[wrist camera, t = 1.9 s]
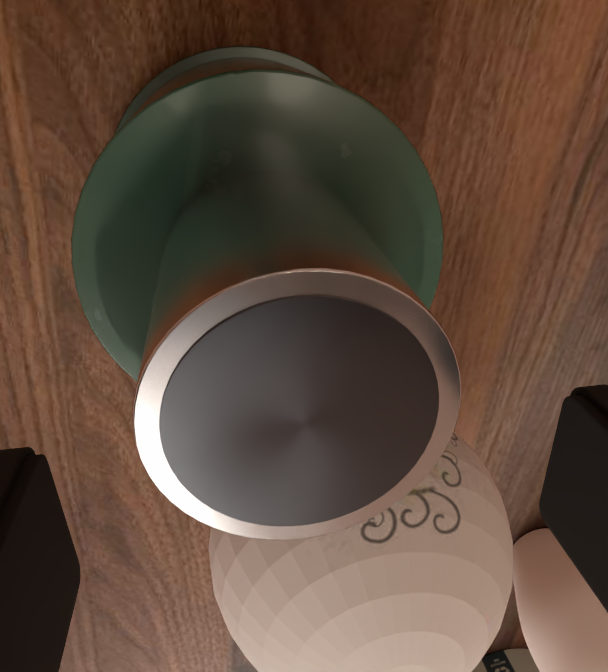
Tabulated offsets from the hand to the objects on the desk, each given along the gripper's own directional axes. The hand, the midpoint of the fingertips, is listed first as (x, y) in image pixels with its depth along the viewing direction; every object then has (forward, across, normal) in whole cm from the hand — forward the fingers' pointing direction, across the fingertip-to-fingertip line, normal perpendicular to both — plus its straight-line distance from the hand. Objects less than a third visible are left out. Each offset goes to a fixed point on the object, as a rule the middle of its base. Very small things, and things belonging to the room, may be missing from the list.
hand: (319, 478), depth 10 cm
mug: (+20, -22, +28) cm, 40 cm away
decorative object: (+20, -4, +16) cm, 25 cm away
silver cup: (+9, 0, 0) cm, 9 cm away
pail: (+19, 0, 0) cm, 19 cm away
